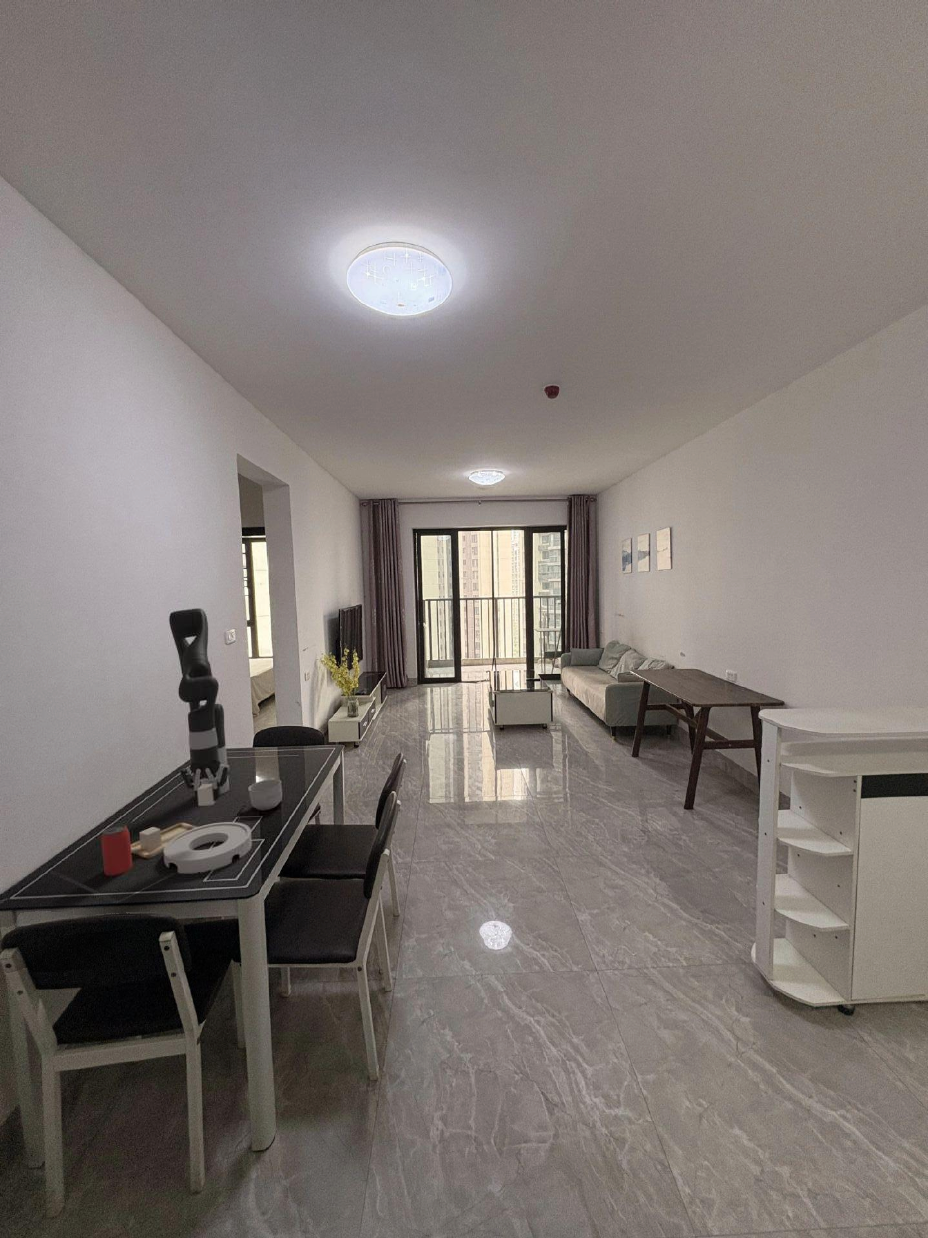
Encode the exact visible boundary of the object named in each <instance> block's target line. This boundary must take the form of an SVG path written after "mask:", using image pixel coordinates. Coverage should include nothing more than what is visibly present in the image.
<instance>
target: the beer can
mask: <svg viewBox="0 0 928 1238" xmlns="http://www.w3.org/2000/svg"><path fill="white" fill-rule="evenodd" d="M130 836H131V835H130V831H129V829H128V827H127V825H126V824H115V825H112V826H109V827H107V828H106V829H104V830H103V831H102V835H101V849H102V850H101V851H102V859H103V860H102V861H103V869H104V875H106V876H117V875H120V874H123V873H126V872H128V871H129V870H131V869H132V868H133V857H132V854H133V853H132V852H131V844H132V843H131V837H130Z"/></svg>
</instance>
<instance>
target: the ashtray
mask: <svg viewBox="0 0 928 1238" xmlns="http://www.w3.org/2000/svg"><path fill="white" fill-rule="evenodd" d="M196 827H197V828H194V829H191V830H189V831H186V832H184V833H182V834H180V835H178V836H176V837H175V838H173V839H172V840H171V841H169V842H168V843H167V845H166V846H165V847H164V852H163V862H164V864H165V866H166V868H170V866H171V864H175V865H176V866H177V873H178V874H199V873H198V872H200V873H205V872H208V871H209V870H210V871H213V870H217V869H219V868H223V867H225V866H228V865H229V864H232V861H233V858H234V856H235V855H239V857H238V858H239V859H241V858H243V857H244V856H245V855H246V854H247V853H248V852H249V851H250V850H251V848H252V845H253V841H252V830H251V827H250V826H248V825H246V824H245V823H242V822H236V821H224V822H215V823H210V824H204V825H201V826H196ZM213 842H223V843H221V844H220V845H217V846H215V847H211V848H209V849H208V848H207V849H202V850H201V849H200V850H199V849H198V850H196V848H198V847H200V846H202V845H206V844H209V843H213Z"/></svg>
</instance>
